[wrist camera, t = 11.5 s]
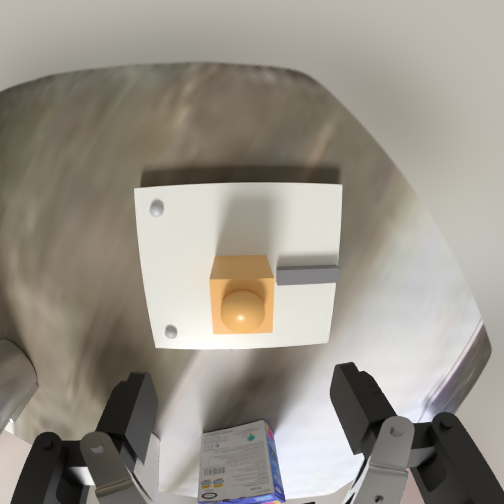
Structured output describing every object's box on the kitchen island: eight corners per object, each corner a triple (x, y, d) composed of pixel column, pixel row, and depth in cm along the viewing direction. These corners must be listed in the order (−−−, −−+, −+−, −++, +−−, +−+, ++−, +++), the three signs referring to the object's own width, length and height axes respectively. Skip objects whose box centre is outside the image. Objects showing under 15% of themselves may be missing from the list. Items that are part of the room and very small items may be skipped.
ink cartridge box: (216, 449, 34) (215, 526, 20) (199, 432, 32) (192, 516, 18) (276, 436, 33) (290, 517, 19) (264, 417, 32) (276, 508, 18)
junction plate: (324, 335, 28) (339, 365, 23) (159, 339, 27) (146, 371, 22) (336, 184, 24) (361, 187, 19) (140, 187, 23) (115, 191, 18)
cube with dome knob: (265, 255, 24) (276, 283, 18) (265, 300, 25) (274, 340, 19) (214, 255, 23) (207, 285, 17) (217, 301, 25) (212, 341, 18)
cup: (183, 450, 34) (173, 538, 17) (137, 455, 34) (119, 530, 18) (139, 410, 30) (110, 511, 14) (94, 417, 31) (61, 499, 15)
